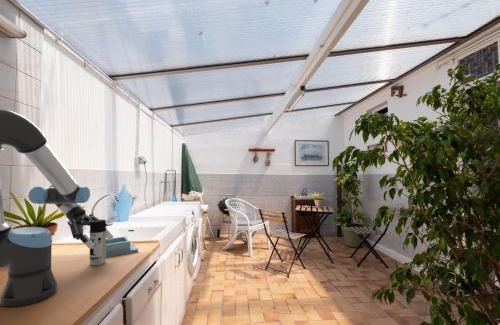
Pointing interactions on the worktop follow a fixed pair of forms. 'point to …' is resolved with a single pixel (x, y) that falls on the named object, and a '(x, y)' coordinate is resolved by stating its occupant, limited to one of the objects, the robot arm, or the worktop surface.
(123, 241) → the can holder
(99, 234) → the spray can
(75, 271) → the worktop surface
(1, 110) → the robot arm
